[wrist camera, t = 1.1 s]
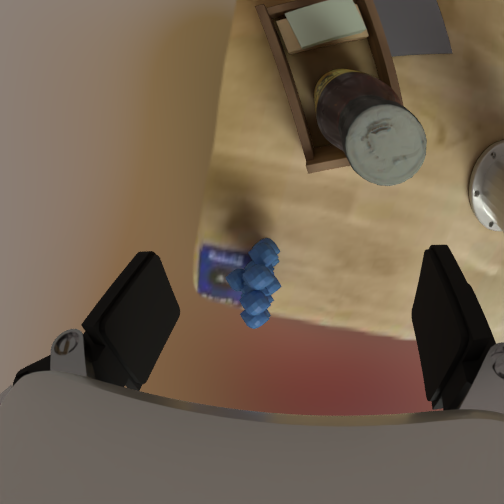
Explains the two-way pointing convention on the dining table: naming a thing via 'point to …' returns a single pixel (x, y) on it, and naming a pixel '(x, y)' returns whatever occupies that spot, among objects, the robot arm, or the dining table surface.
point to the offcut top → (325, 22)
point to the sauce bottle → (369, 126)
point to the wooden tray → (317, 156)
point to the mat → (413, 27)
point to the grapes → (257, 282)
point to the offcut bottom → (295, 47)
